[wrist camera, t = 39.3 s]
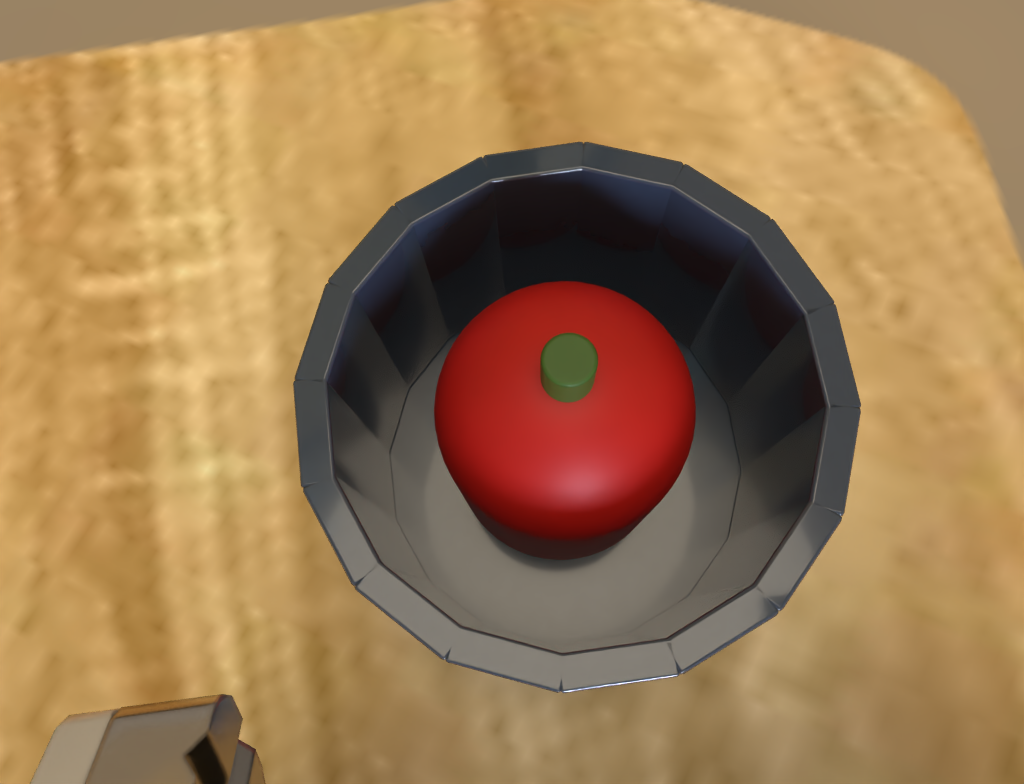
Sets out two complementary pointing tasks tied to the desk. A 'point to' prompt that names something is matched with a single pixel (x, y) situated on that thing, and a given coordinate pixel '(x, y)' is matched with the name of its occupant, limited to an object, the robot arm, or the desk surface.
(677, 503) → the pot
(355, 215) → the desk surface
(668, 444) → the pepper
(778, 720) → the desk surface
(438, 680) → the desk surface
